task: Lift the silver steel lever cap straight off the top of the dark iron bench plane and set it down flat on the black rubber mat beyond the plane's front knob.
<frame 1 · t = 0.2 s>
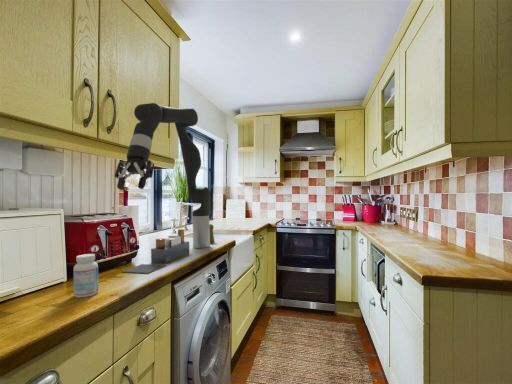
hand: (130, 188, 97), 31 cm above the countertop, tool tilted 20°, fingers open, 8 cm apart
pill bottle: (86, 295, 78), on the countertop
bench plane: (171, 258, 123), on the countertop
lever cap: (171, 245, 123), point 6 cm above the countertop, touching bench plane
rubber mat: (144, 269, 105), on the countertop
cork: (209, 242, 164), on the countertop
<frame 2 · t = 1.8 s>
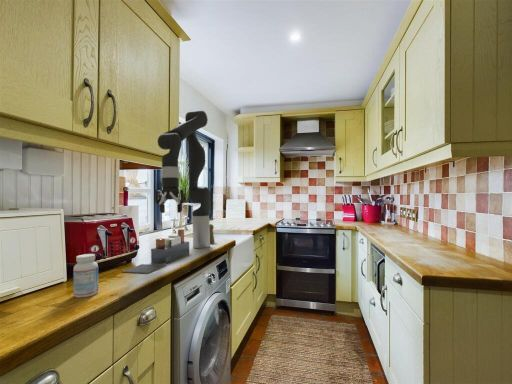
hand: (170, 212, 123), 21 cm above the countertop, tool pointing down, fingers open, 8 cm apart
nothing on the countertop moved.
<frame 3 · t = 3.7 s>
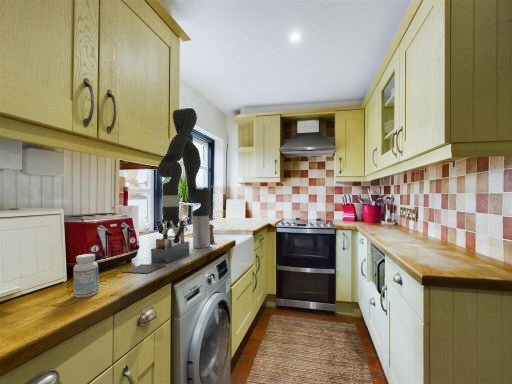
hand: (171, 242, 123), 7 cm above the countertop, tool pointing down, fingers closed on lever cap, 5 cm apart
lever cap: (171, 245, 123), point 6 cm above the countertop, touching bench plane, gripper
everything else where it was.
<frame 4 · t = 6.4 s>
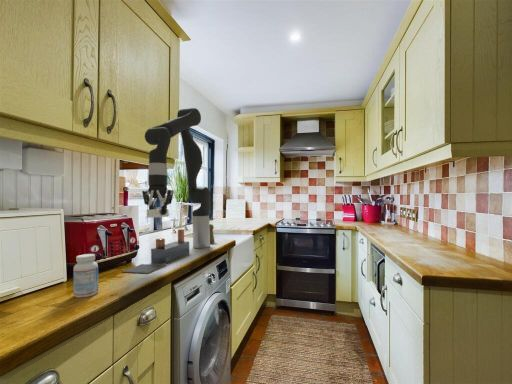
hand: (157, 214, 114), 20 cm above the countertop, tool pointing down, fingers closed on lever cap, 5 cm apart
lever cap: (157, 217, 114), point 19 cm above the countertop, touching gripper
everything else where it was.
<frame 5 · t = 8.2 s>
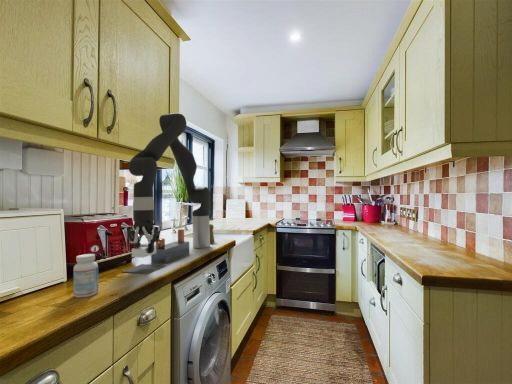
hand: (144, 252, 105), 6 cm above the countertop, tool pointing down, fingers closed on lever cap, 5 cm apart
lever cap: (144, 255, 105), point 5 cm above the countertop, touching gripper
everything else where it was.
when the fingers open (3 cm above the countertop, at t = 9.4 s): lever cap drops 1 cm, resting on rubber mat.
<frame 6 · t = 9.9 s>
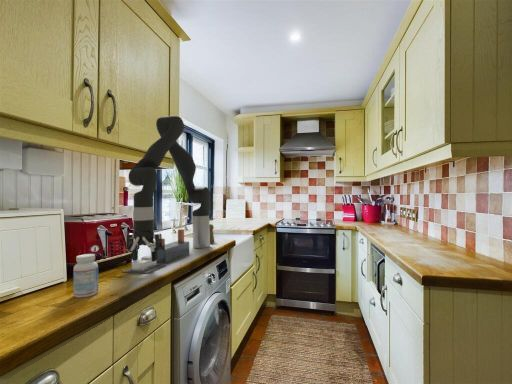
hand: (144, 260, 105), 3 cm above the countertop, tool pointing down, fingers open, 8 cm apart
lever cap: (144, 268, 105), resting on rubber mat
everything else where it was.
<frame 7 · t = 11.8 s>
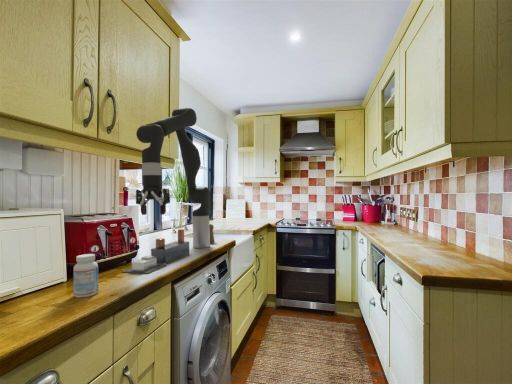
hand: (153, 214, 110), 21 cm above the countertop, tool pointing down, fingers open, 8 cm apart
nothing on the countertop moved.
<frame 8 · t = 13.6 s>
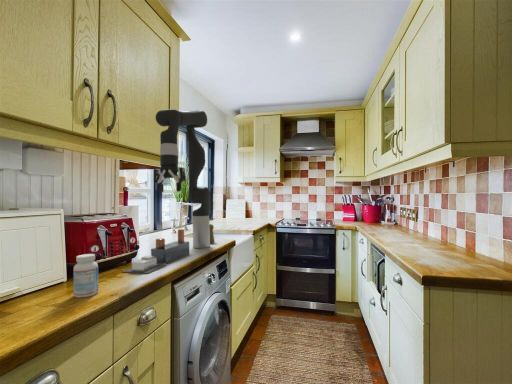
hand: (169, 191, 119), 30 cm above the countertop, tool pointing down, fingers open, 8 cm apart
nothing on the countertop moved.
at the end: lever cap inside the target area on the rubber mat (0.0 cm from its centre), point 0.4 cm above the rubber mat's base; lever cap tilted 0°; the gripper is holding nothing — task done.
